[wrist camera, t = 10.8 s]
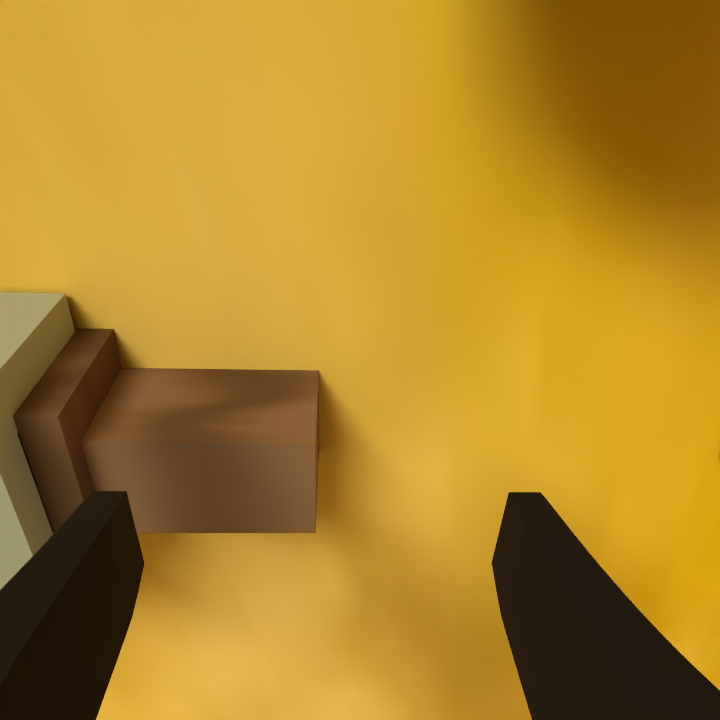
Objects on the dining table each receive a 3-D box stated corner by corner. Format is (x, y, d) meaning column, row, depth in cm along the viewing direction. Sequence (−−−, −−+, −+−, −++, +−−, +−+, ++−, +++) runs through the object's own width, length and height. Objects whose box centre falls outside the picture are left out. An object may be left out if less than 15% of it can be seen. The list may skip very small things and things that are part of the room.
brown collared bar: (318, 332, 20) (314, 418, 16) (318, 482, 24) (315, 582, 20) (-75, 325, 20) (-179, 414, 16) (-10, 481, 24) (-81, 584, 20)
